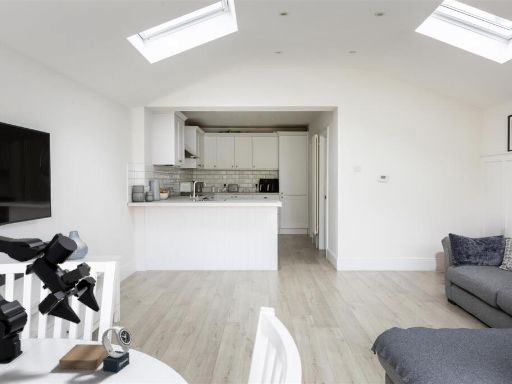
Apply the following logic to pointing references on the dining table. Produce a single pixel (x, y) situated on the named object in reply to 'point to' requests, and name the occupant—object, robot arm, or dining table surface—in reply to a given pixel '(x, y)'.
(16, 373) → the dining table surface
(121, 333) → the watch
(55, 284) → the robot arm
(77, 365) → the plinth
